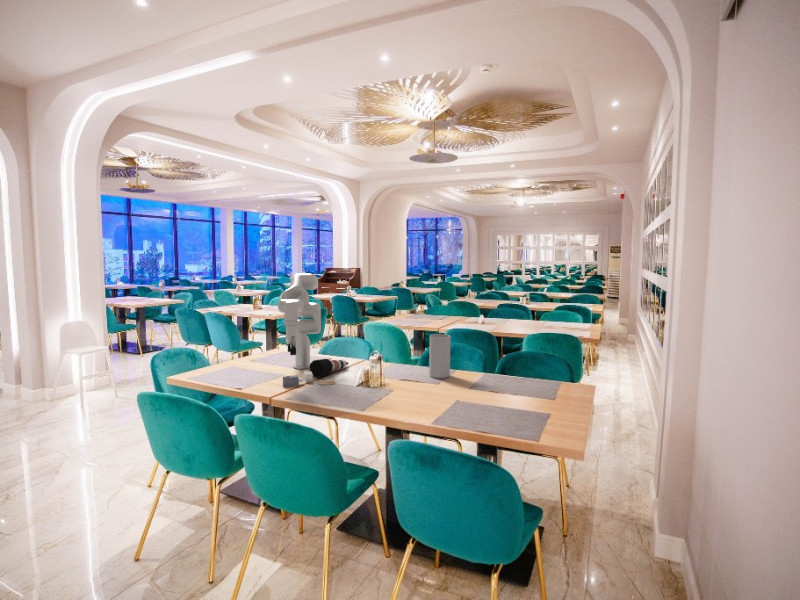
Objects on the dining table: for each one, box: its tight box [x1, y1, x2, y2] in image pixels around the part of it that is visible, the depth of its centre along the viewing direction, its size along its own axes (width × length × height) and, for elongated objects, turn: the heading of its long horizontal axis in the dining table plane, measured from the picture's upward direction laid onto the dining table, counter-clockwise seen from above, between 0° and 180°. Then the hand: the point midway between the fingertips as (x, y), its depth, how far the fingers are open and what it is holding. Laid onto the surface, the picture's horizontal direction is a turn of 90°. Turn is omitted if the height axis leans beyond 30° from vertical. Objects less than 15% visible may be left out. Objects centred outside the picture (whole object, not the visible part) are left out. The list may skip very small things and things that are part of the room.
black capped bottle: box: [308, 358, 349, 378], centre depth 287 cm, size 10×34×10 cm, turn 153°
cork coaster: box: [317, 379, 336, 386], centre depth 262 cm, size 10×10×1 cm
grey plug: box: [282, 374, 304, 388], centre depth 257 cm, size 11×4×5 cm, turn 112°
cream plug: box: [303, 369, 314, 383], centre depth 266 cm, size 11×4×5 cm, turn 21°
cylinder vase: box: [428, 333, 451, 379], centre depth 277 cm, size 12×12×25 cm
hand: (291, 353), depth 255 cm, fingers open, 9 cm apart
